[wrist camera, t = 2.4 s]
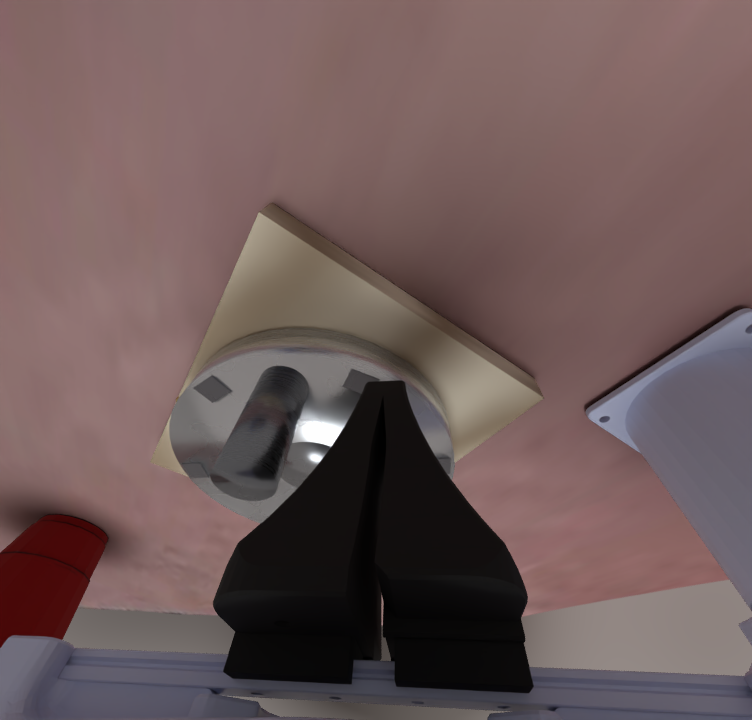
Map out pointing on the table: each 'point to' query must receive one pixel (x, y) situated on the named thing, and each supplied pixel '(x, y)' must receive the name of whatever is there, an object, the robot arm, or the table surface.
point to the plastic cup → (47, 576)
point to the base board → (359, 327)
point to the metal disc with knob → (286, 413)
